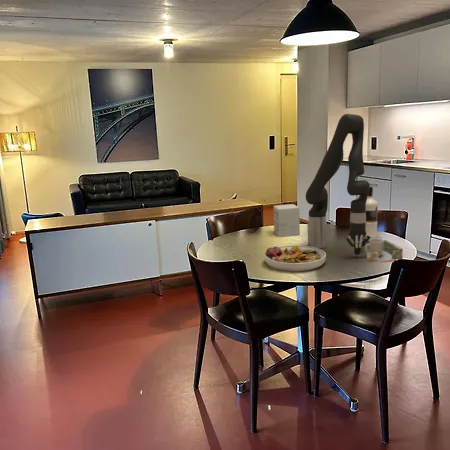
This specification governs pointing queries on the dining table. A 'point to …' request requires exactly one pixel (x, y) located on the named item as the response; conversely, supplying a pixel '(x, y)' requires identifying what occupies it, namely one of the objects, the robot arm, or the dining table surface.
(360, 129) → the robot arm
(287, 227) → the supplement box
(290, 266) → the bowl
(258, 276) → the dining table surface
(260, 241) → the dining table surface
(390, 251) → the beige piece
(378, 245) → the cup
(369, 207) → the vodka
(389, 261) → the trap mat
